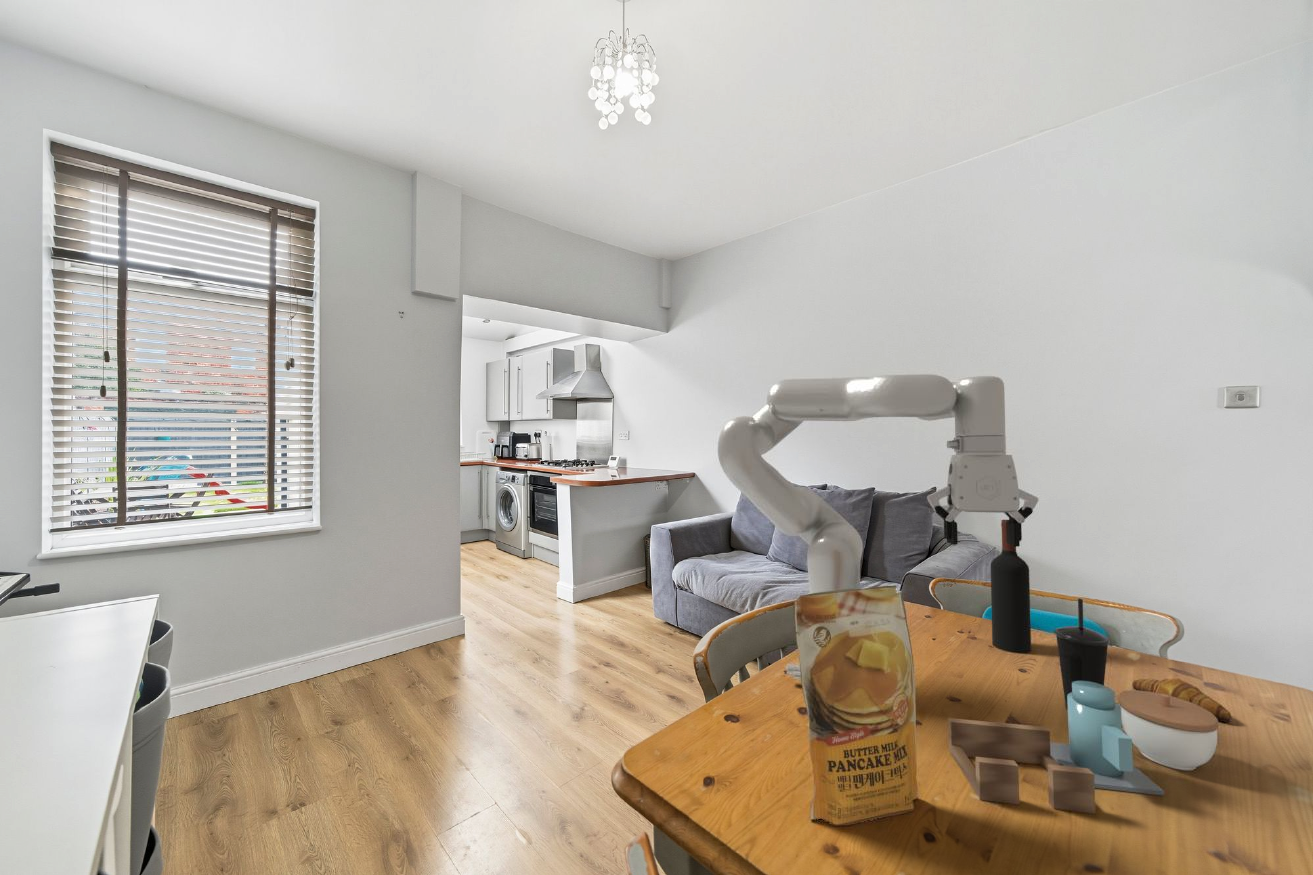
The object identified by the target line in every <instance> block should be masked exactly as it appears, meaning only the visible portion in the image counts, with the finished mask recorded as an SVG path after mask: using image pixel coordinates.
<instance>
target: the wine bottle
mask: <svg viewBox="0 0 1313 875" xmlns="http://www.w3.org/2000/svg"><path fill="white" fill-rule="evenodd" d="M1007 521H1009V519H1001V521H1000V523H1001V524H1000V527H1001V552H1000V554H999V555H998V556H996V557H994V558H993V559H992V560H991V562H990V596H991V597H990V598H991V599H990V600H991V602H990V603H991V640H992V642H991V643H992V646H994V647H995V648H997V649H999V650H1002V651H1005V652H1009V653H1013V654H1015V653H1016V654H1028V653H1031V652H1032V633H1031V632H1032V631H1031V627H1032V626H1031V623H1032V622H1031V589H1030V588H1031V587H1030V586H1031V585H1030V568H1029V567H1030V566H1029V565H1028V564H1027V562H1026V561H1025V560H1024V559H1022V558H1021V557H1020V556H1019V555H1018V553H1017V547H1015V546H1013V545H1010V544H1008V543H1007V542H1006V522H1007Z"/></svg>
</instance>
